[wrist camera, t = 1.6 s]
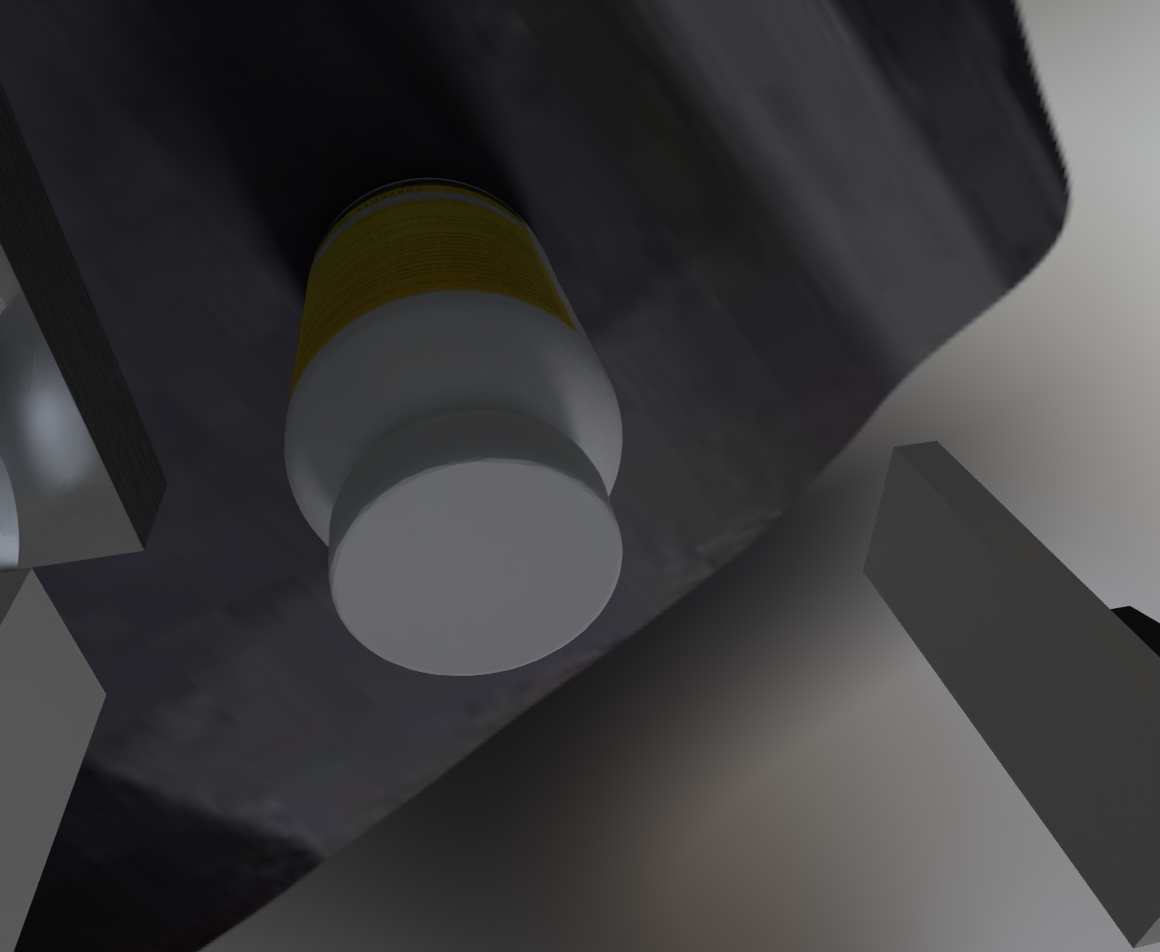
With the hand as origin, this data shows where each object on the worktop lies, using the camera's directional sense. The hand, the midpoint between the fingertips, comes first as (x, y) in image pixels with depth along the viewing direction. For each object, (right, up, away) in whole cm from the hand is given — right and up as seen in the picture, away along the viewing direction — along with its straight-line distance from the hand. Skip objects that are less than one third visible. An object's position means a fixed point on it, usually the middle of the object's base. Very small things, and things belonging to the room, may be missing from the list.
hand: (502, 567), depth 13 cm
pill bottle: (-3, +7, +9) cm, 12 cm away
